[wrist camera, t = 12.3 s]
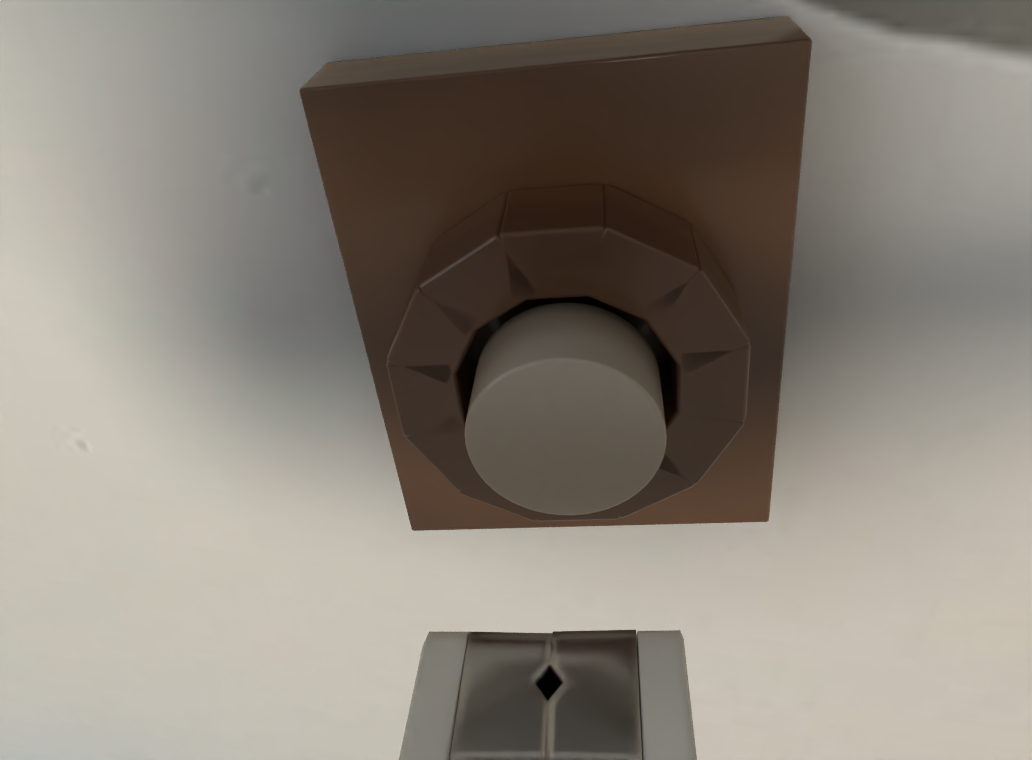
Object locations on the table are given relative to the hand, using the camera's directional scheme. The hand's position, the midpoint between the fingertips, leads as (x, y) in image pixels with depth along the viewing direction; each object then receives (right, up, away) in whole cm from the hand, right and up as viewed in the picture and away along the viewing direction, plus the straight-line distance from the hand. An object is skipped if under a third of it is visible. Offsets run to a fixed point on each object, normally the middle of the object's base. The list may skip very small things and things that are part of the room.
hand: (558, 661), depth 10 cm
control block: (+1, +5, +7) cm, 9 cm away
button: (0, +3, +5) cm, 6 cm away
